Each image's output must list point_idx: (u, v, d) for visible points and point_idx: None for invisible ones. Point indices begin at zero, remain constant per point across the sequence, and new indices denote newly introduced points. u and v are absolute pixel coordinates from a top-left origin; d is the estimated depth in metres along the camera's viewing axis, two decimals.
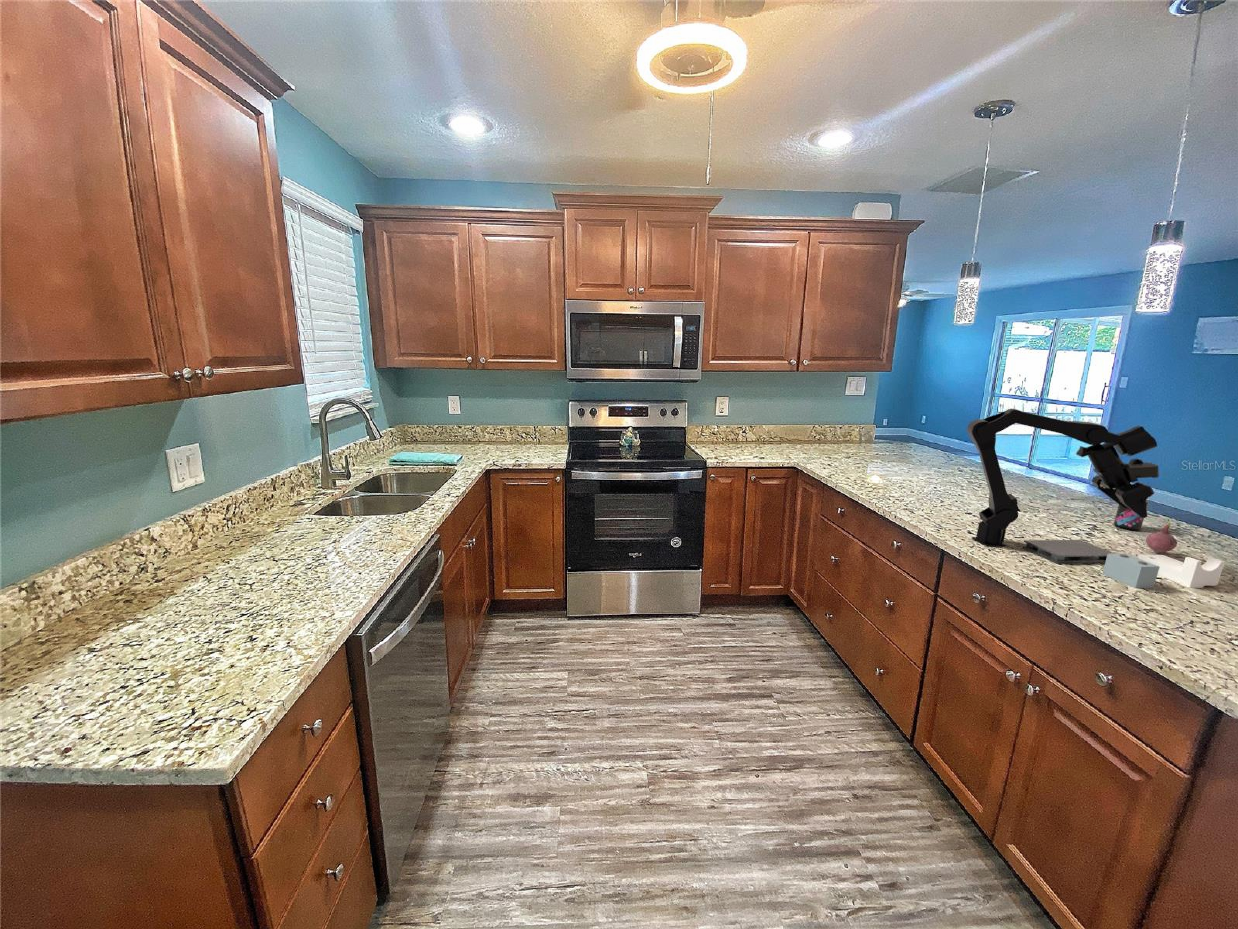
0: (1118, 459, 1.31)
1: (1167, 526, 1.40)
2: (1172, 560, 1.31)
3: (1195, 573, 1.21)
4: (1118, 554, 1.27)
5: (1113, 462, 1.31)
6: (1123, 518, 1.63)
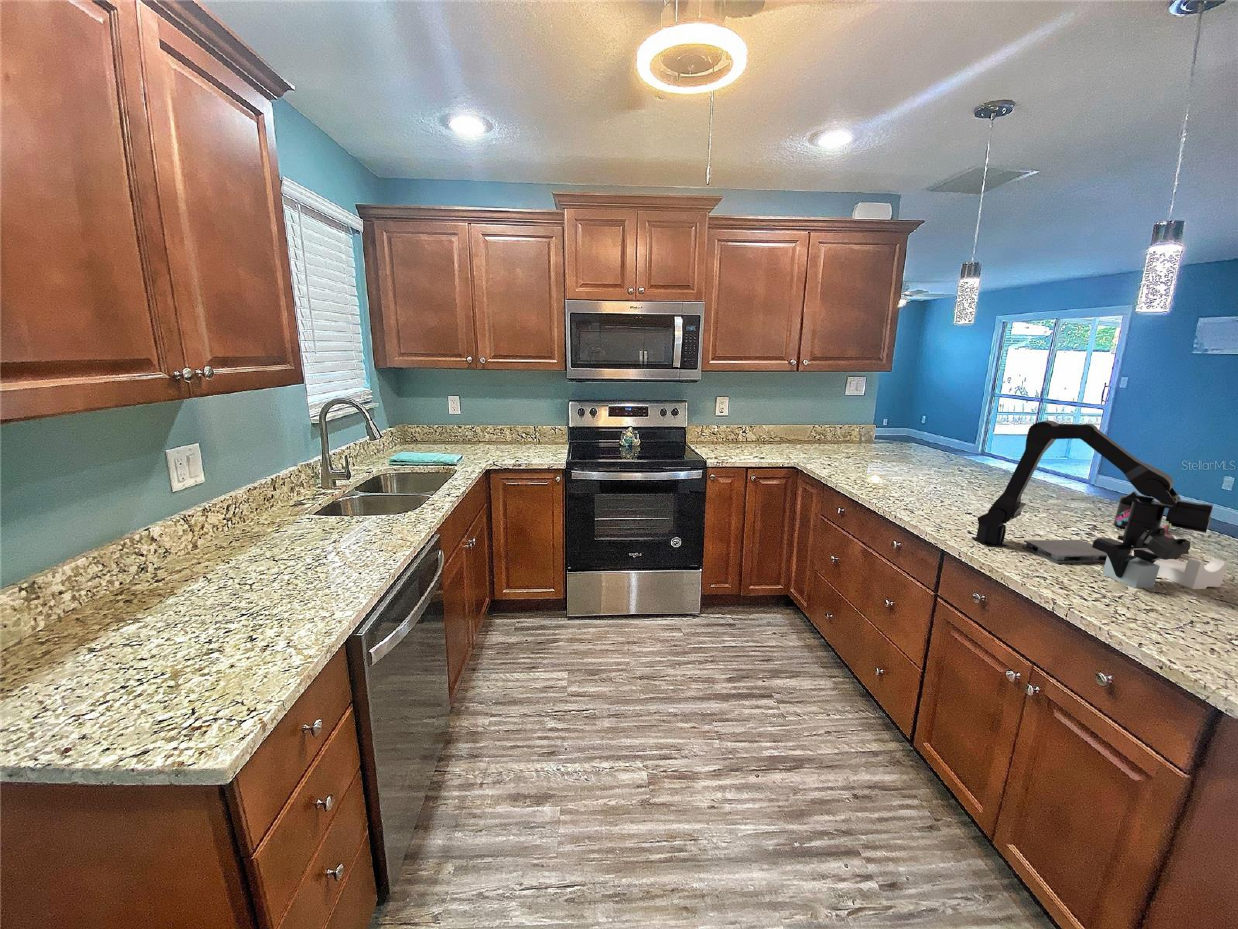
0: (1154, 521, 1.19)
1: (1167, 526, 1.41)
2: (1175, 561, 1.30)
3: (1198, 574, 1.21)
4: None
5: (1145, 520, 1.20)
6: (1123, 518, 1.63)
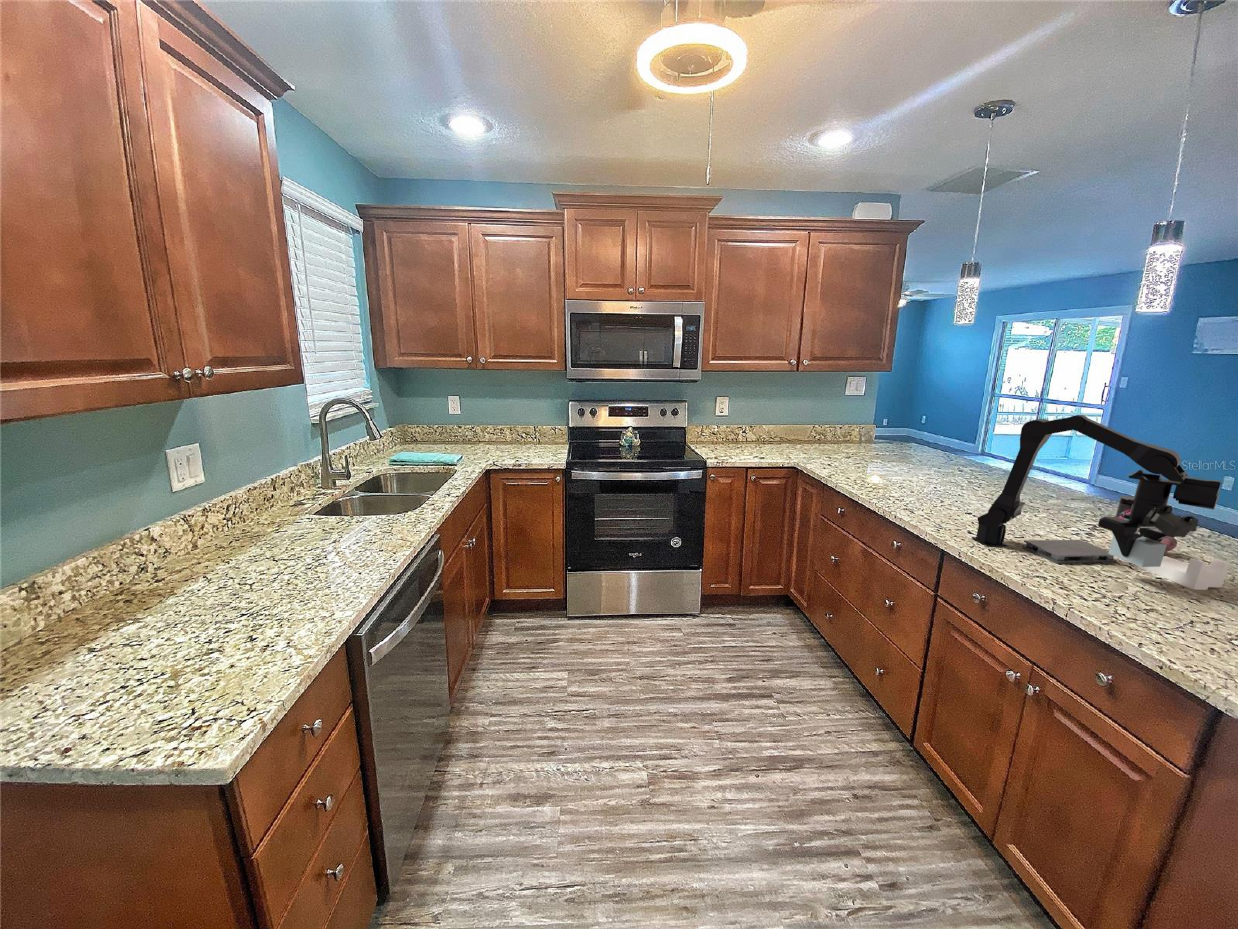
0: (1161, 498, 1.17)
1: None
2: (1176, 561, 1.30)
3: (1200, 575, 1.20)
4: None
5: (1152, 498, 1.18)
6: (1123, 518, 1.63)
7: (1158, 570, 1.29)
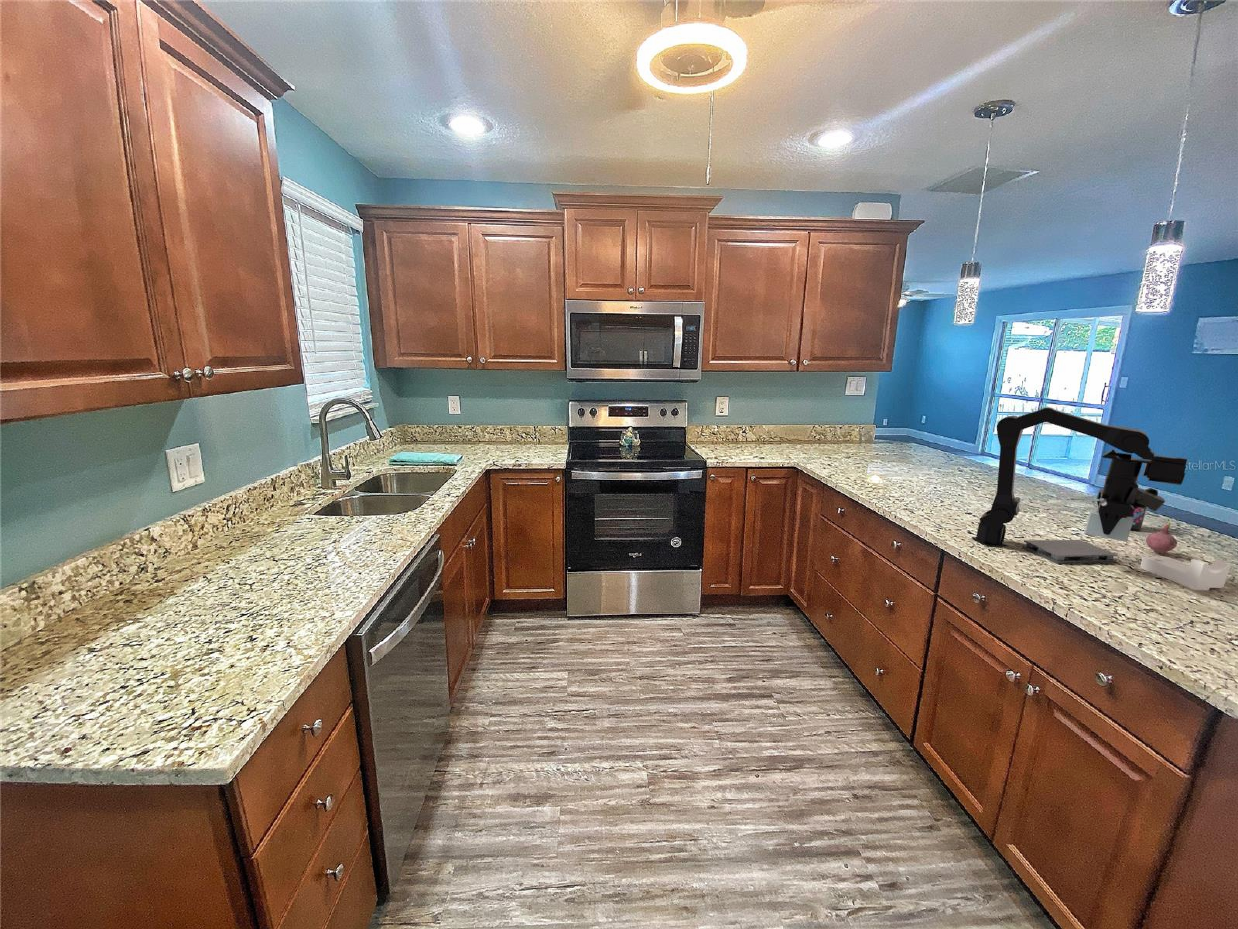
0: (1133, 476, 1.24)
1: (1167, 526, 1.40)
2: (1177, 562, 1.29)
3: (1201, 575, 1.20)
4: (1094, 511, 1.31)
5: (1125, 476, 1.24)
6: None
7: (1159, 571, 1.29)
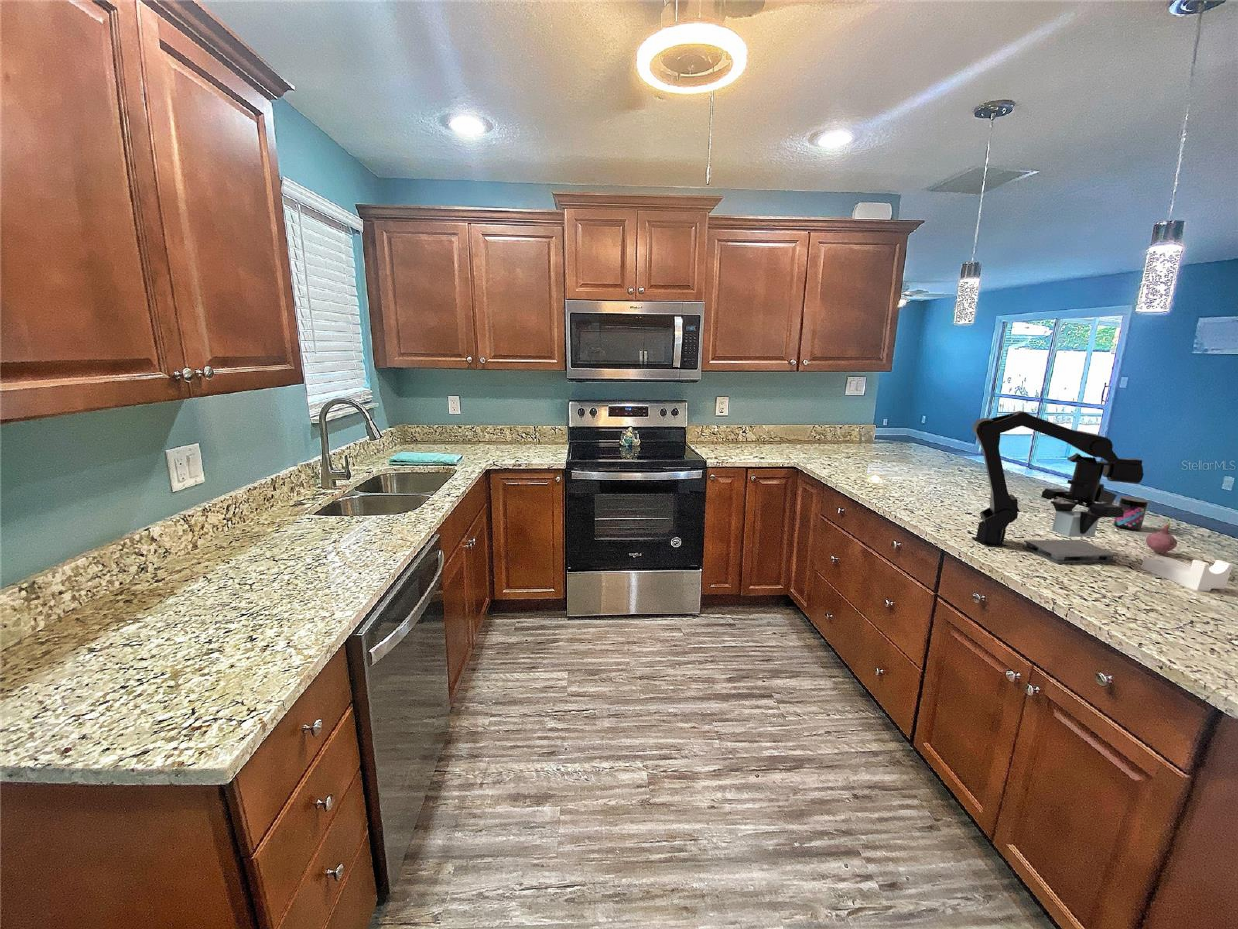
0: (1099, 478, 1.33)
1: (1167, 526, 1.40)
2: (1179, 563, 1.29)
3: (1203, 576, 1.20)
4: (1067, 514, 1.38)
5: (1093, 478, 1.33)
6: (1123, 518, 1.63)
7: (1161, 571, 1.28)
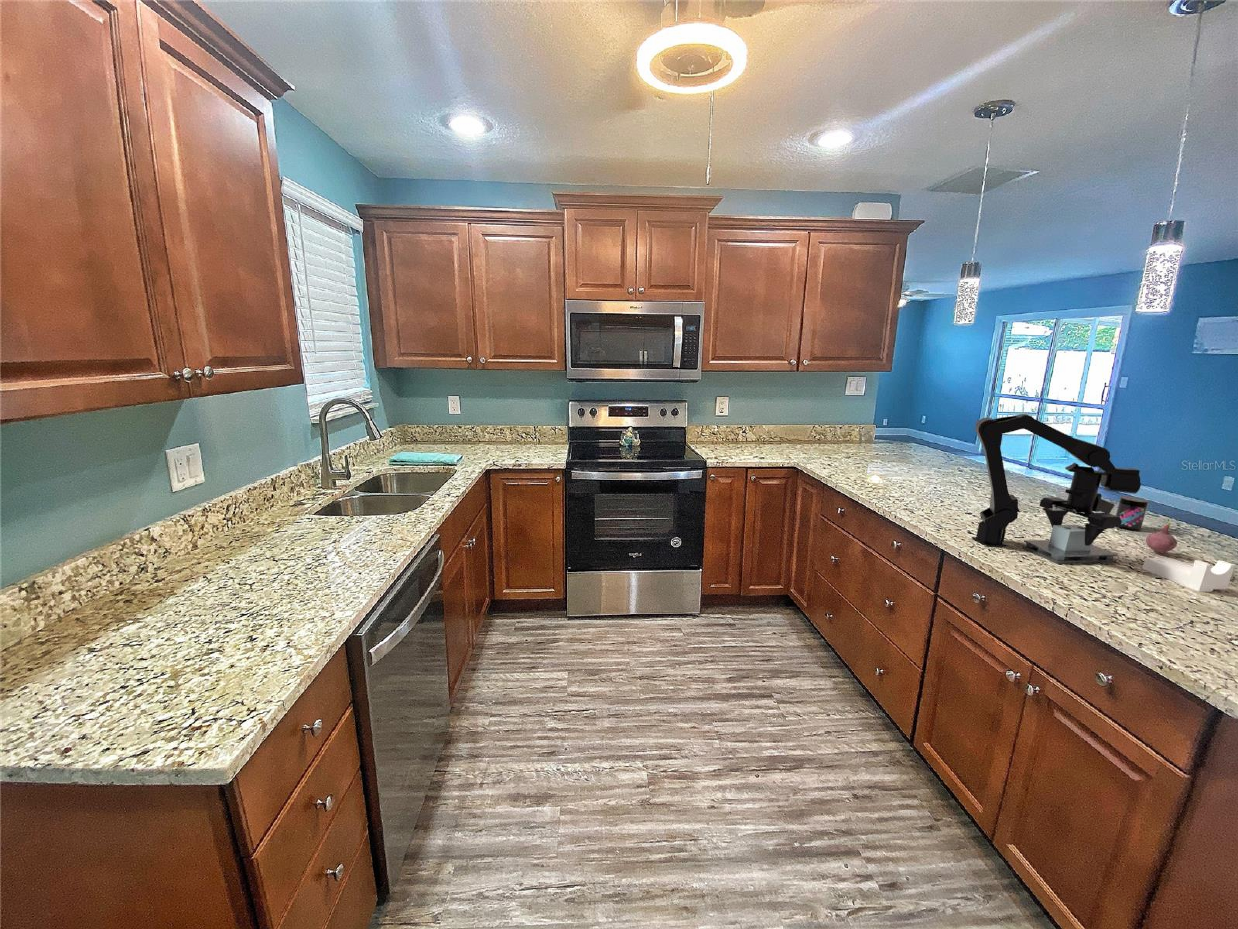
0: (1096, 488, 1.33)
1: (1167, 526, 1.40)
2: (1180, 563, 1.29)
3: (1205, 577, 1.19)
4: (1064, 528, 1.39)
5: (1090, 488, 1.34)
6: (1123, 518, 1.63)
7: (1162, 572, 1.28)
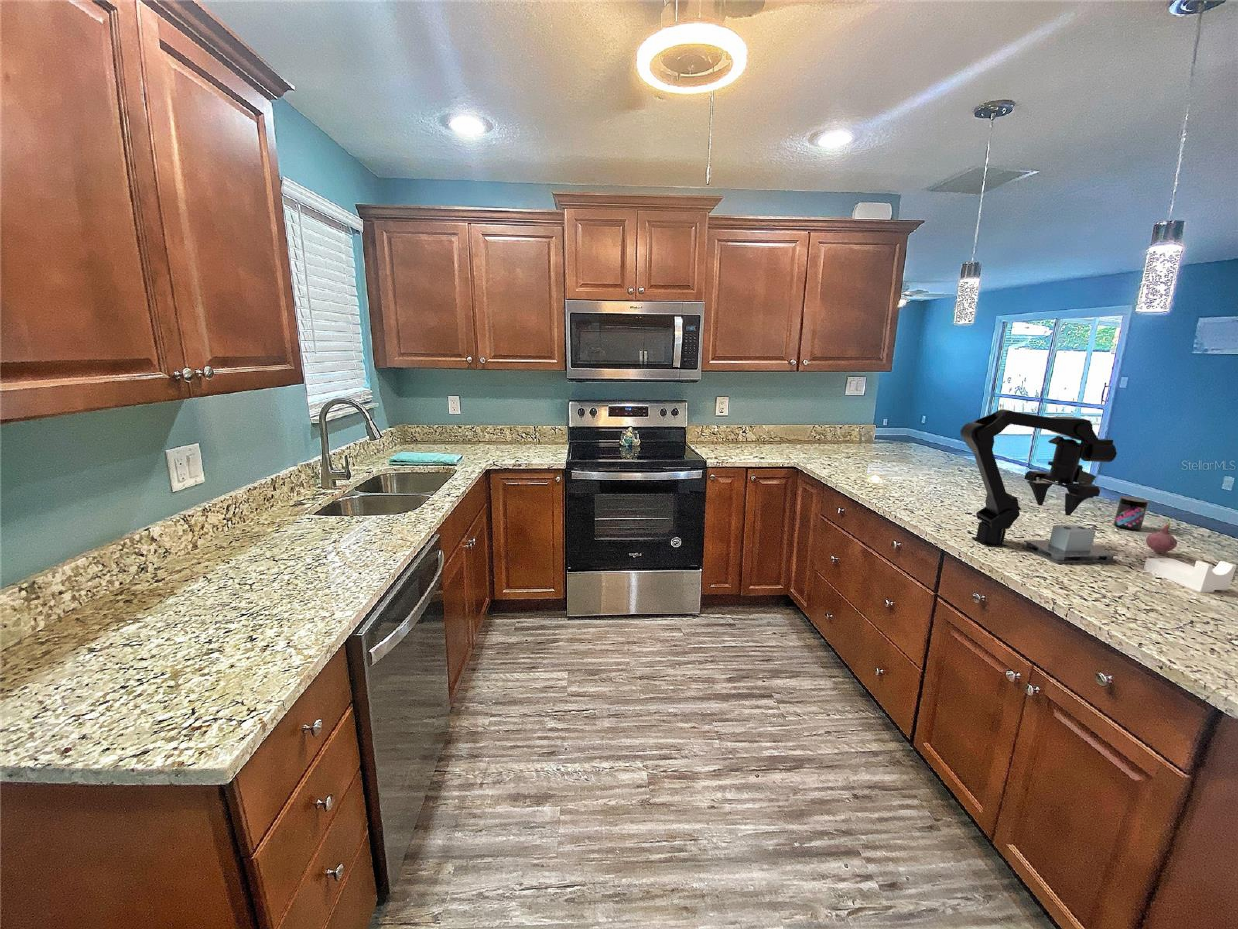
0: (1079, 459, 1.38)
1: (1167, 526, 1.40)
2: (1181, 564, 1.28)
3: (1206, 577, 1.19)
4: (1064, 528, 1.39)
5: (1075, 459, 1.38)
6: (1123, 518, 1.63)
7: (1163, 572, 1.28)
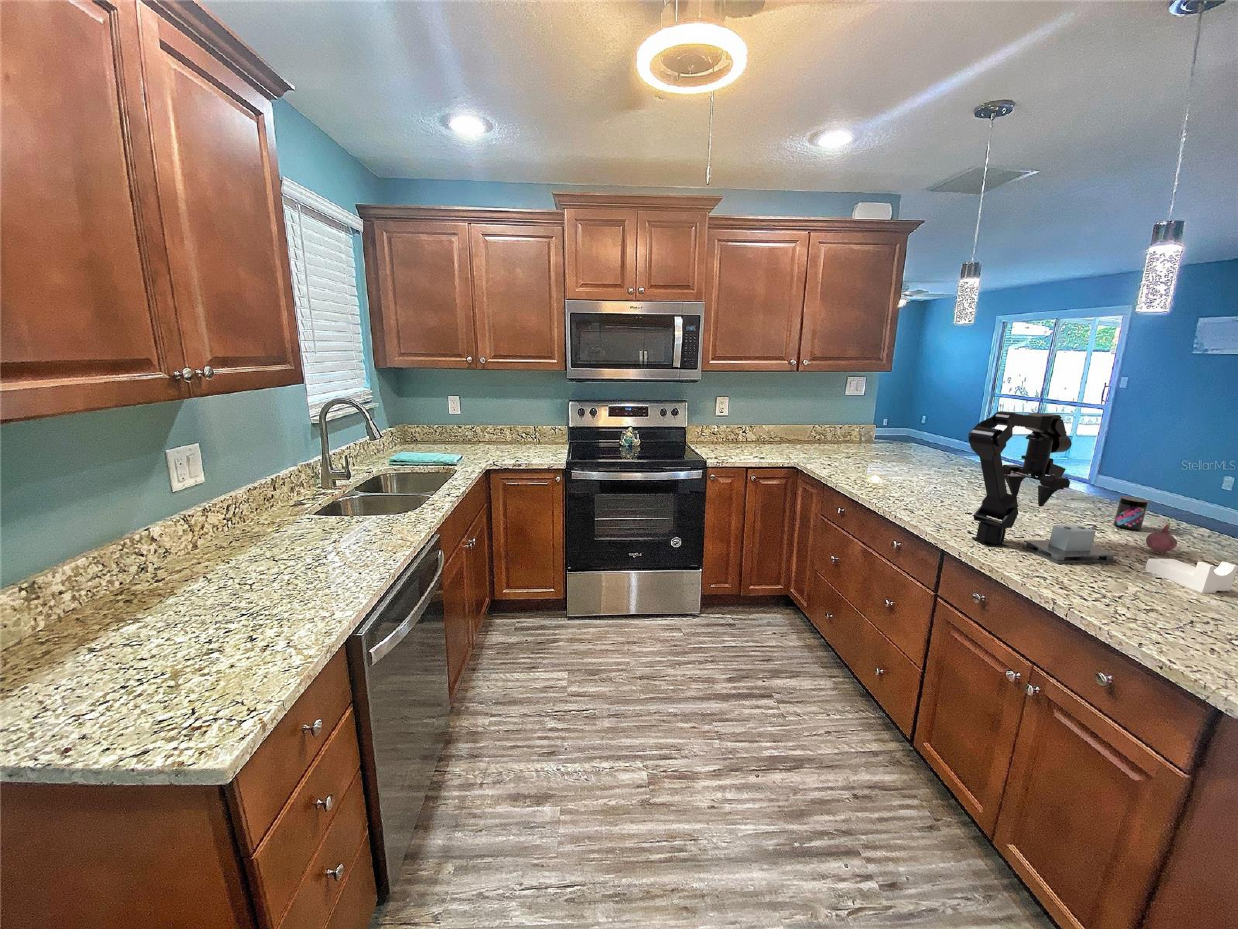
0: None
1: (1167, 526, 1.40)
2: (1183, 564, 1.28)
3: (1208, 578, 1.19)
4: (1064, 528, 1.39)
5: (1049, 453, 1.46)
6: (1123, 518, 1.63)
7: (1165, 573, 1.27)
